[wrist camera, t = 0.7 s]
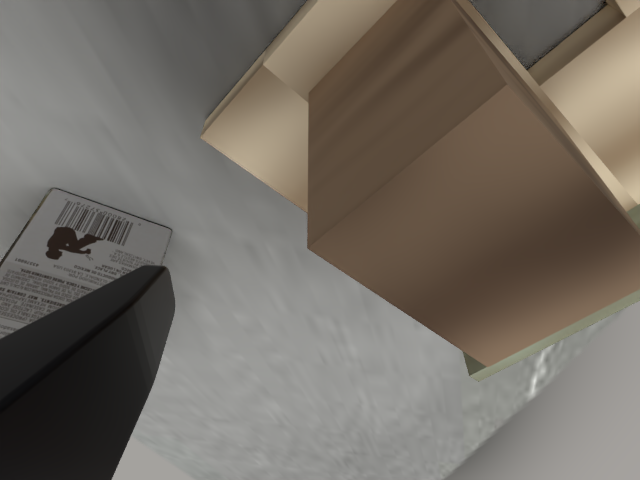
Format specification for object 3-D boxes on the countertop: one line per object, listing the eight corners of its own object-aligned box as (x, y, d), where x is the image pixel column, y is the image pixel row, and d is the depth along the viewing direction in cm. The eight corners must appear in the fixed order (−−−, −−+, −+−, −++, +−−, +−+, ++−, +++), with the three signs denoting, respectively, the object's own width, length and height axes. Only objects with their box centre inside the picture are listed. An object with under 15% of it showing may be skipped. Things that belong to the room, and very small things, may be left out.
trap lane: (205, 120, 22) (181, 195, 18) (494, -221, 15) (565, -227, 11) (455, 301, 30) (478, 381, 26) (719, 140, 23) (808, 215, 19)
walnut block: (308, 92, 20) (307, 248, 13) (428, -33, 17) (507, 84, 10) (436, 202, 23) (487, 367, 17) (553, 114, 20) (672, 272, 14)
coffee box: (135, 326, 31) (27, 657, 19) (25, 295, 29) (-172, 644, 17) (178, 227, 26) (63, 599, 14) (47, 182, 24) (-217, 569, 12)
